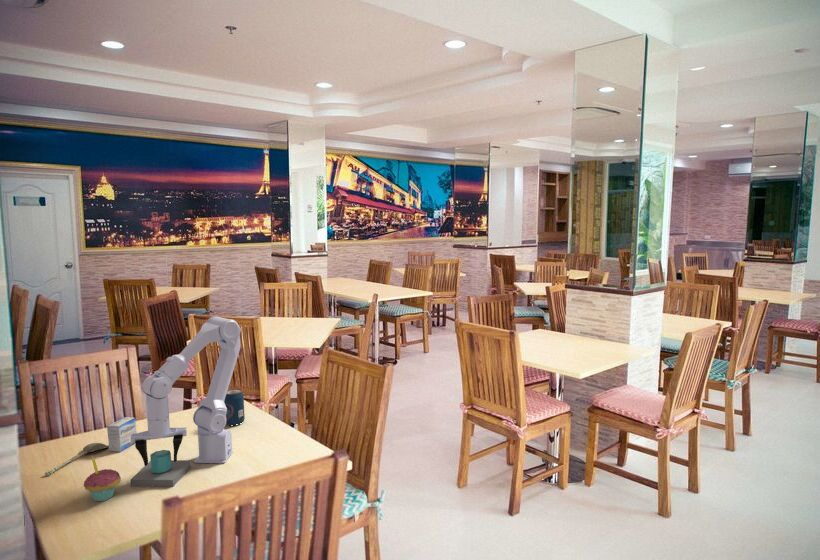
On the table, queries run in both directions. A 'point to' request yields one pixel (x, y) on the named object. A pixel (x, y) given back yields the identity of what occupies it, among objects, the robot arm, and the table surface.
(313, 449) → the table surface
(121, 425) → the medicine box
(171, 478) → the stud stand
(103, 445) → the soupspoon
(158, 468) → the cap
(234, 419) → the soda can
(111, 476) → the cupcake
